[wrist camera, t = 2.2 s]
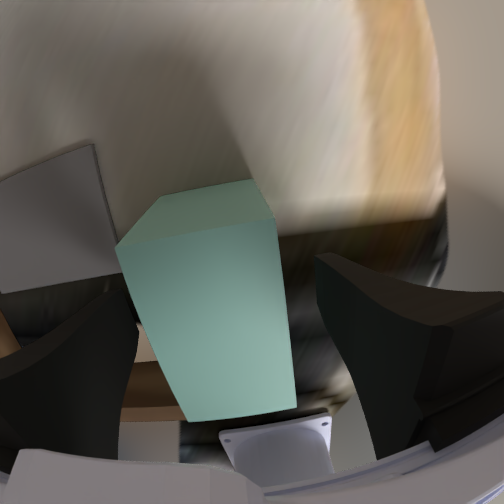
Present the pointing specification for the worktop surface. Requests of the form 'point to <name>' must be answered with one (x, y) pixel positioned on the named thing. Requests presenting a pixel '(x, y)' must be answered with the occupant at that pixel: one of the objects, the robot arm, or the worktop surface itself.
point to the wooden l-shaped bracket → (138, 388)
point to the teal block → (213, 300)
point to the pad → (56, 224)
